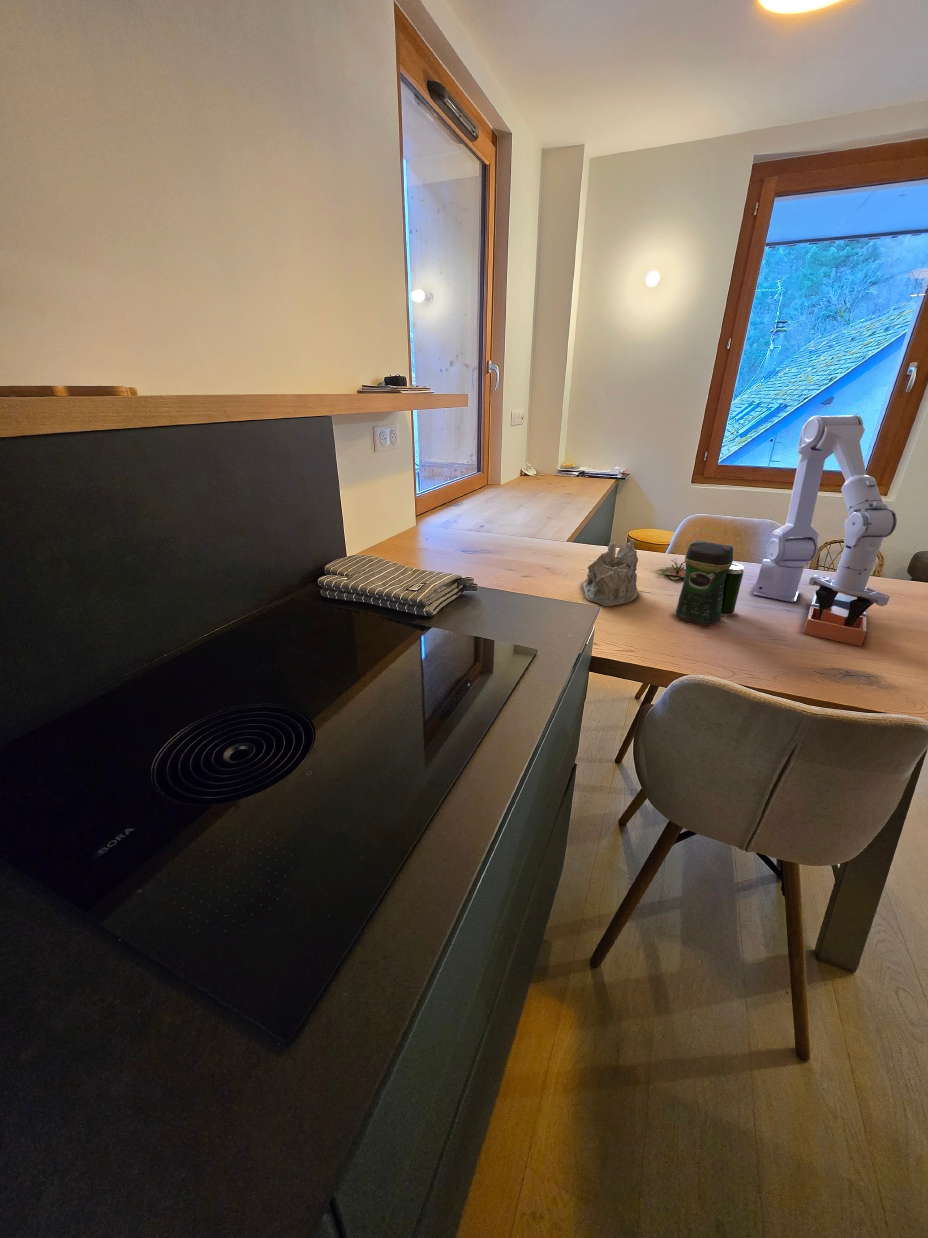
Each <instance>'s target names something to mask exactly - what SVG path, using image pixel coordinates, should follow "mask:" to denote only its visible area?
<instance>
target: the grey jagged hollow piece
mask: <svg viewBox="0 0 928 1238" xmlns="http://www.w3.org/2000/svg"><path fill="white" fill-rule="evenodd" d="M616 551H617V544H616V542H615V541H610V542H609V543H608V547H607V551H605V552H603V553H601V554H600V555H599V556H598V558H596V559H595V560H594V561H593V562H592V563H591V564H589V565H588V566H587V570H588V572H587V573H586V577H587V578H585V581H584V582H585V583H583V584H582V587H583V591H584V594H585V598H586V599H587V600H588V601H589V602H591V603H596V604H598V605H601V606H604V607H613V606H619V605H623V604H628V603H631V602H633V601H634V600H635V599H636V598H637V596H638V588H637V587H638V585H637V582H638V581H637V580H638V575H637V570H638V569H637V567H638V565H637V564H638V562H639V557H638V553H637V552H638V551H637V550H636V549H635V539H633V538H632V539H630V540H629V542H627V543H626V545H625V546H622V545H621V546H619V549H618V551H617V552H616Z"/></svg>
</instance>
